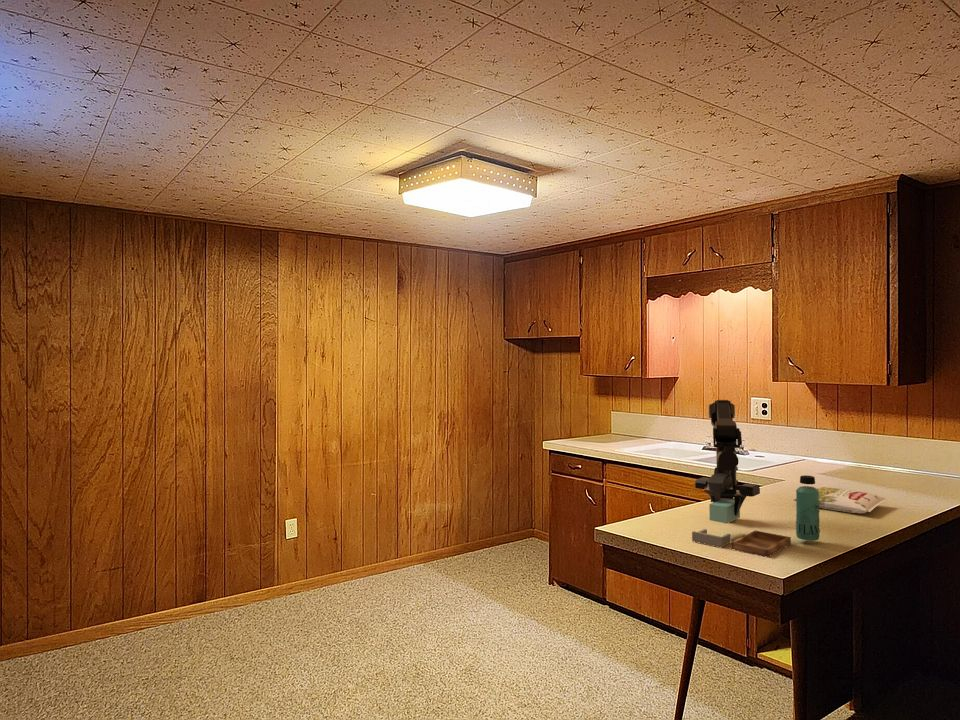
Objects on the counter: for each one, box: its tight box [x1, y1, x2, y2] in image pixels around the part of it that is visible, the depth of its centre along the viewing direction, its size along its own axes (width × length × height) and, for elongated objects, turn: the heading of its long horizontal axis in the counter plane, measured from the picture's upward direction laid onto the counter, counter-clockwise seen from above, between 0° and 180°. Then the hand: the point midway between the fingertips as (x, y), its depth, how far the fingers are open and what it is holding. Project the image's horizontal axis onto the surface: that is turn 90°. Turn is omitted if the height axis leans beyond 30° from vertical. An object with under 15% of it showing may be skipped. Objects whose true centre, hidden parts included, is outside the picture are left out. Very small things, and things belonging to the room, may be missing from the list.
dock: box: [691, 528, 732, 548], centre depth 197 cm, size 7×9×3 cm
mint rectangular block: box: [708, 499, 741, 524], centre depth 204 cm, size 10×6×5 cm, turn 134°
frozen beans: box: [792, 486, 887, 514], centre depth 235 cm, size 21×6×25 cm
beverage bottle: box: [795, 475, 821, 542], centre depth 195 cm, size 6×7×20 cm
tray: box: [730, 530, 792, 558], centre depth 192 cm, size 17×11×2 cm, turn 134°
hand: (726, 513), depth 204 cm, fingers closed on mint rectangular block, 5 cm apart
